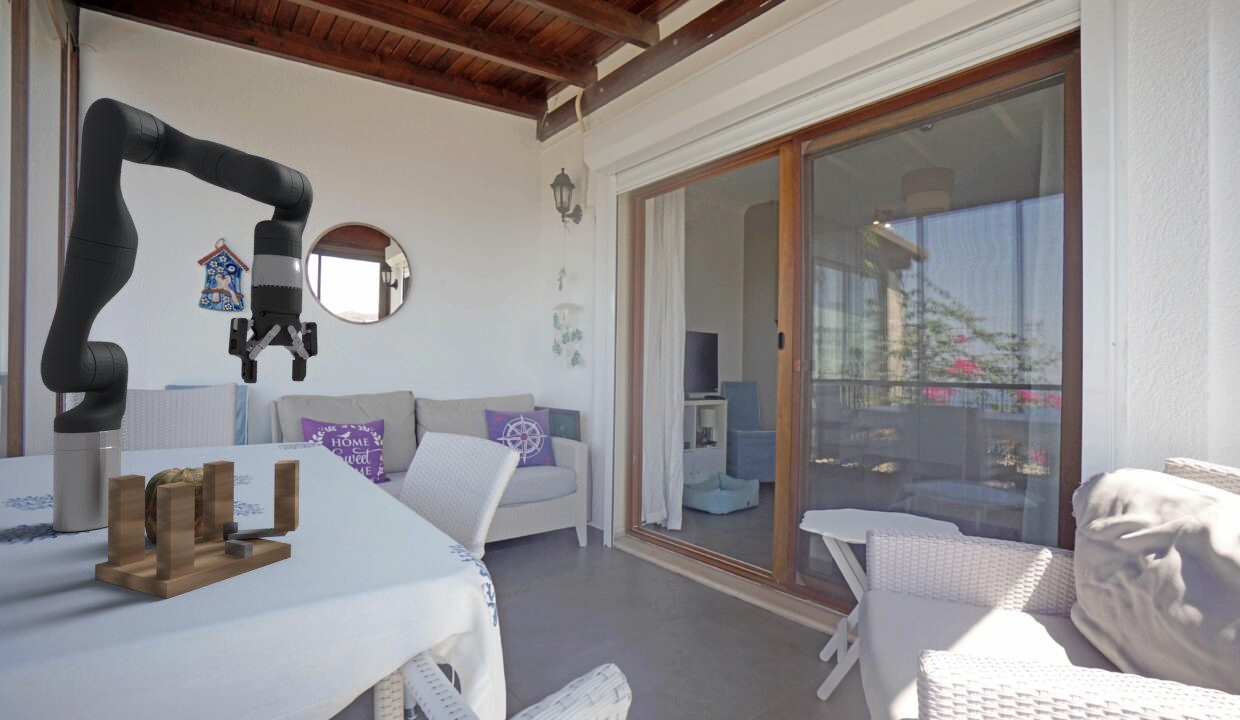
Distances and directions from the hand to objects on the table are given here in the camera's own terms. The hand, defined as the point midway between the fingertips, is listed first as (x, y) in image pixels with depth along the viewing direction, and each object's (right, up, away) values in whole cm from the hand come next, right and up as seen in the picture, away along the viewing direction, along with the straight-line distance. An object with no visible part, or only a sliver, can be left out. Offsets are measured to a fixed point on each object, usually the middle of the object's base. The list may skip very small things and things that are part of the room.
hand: (274, 382), depth 102 cm
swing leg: (0, -25, -4) cm, 25 cm away
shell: (-17, -27, +2) cm, 32 cm away
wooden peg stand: (-5, -27, -12) cm, 30 cm away
